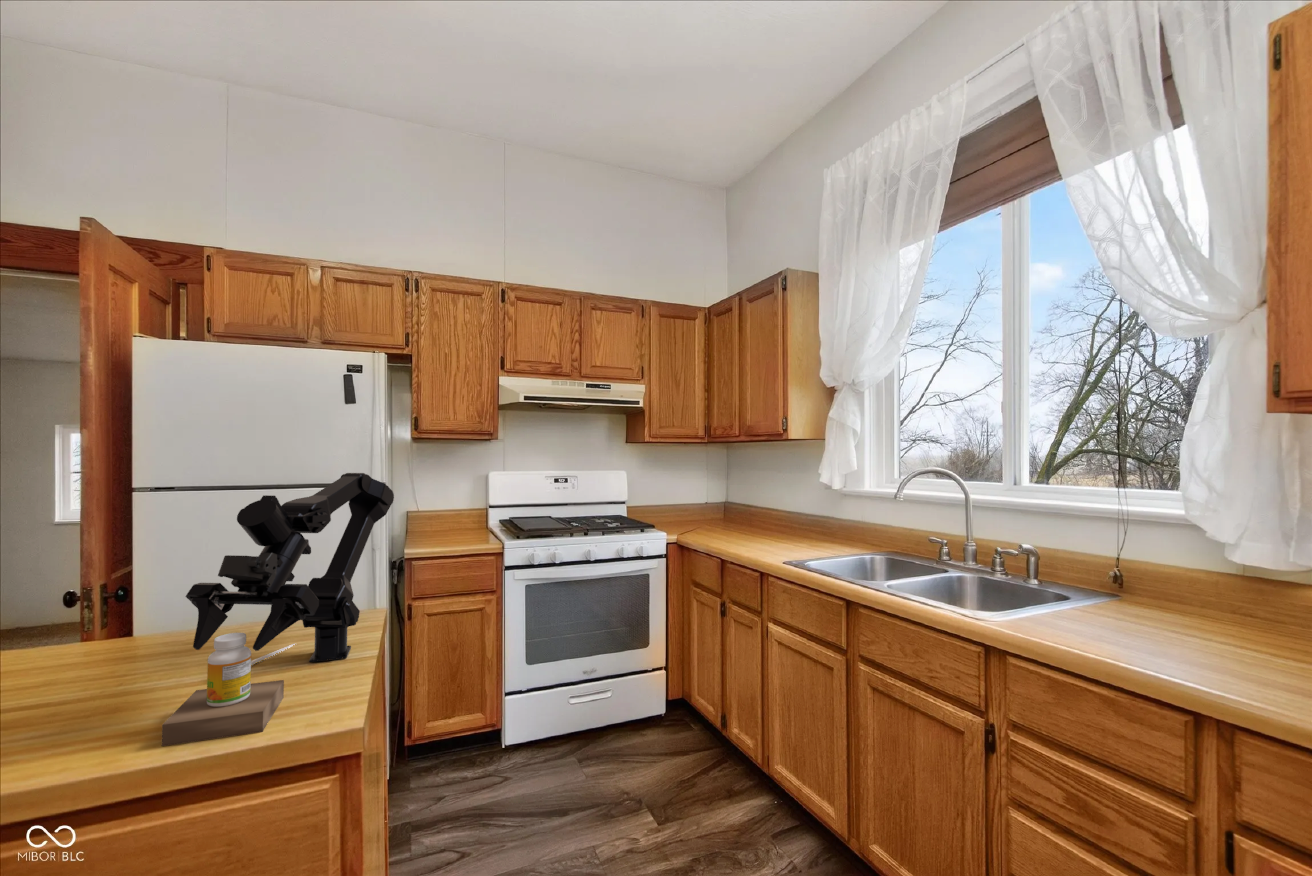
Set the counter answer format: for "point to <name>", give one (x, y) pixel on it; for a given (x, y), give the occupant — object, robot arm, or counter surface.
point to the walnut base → (222, 715)
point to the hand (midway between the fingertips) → (225, 649)
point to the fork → (269, 654)
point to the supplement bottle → (229, 671)
